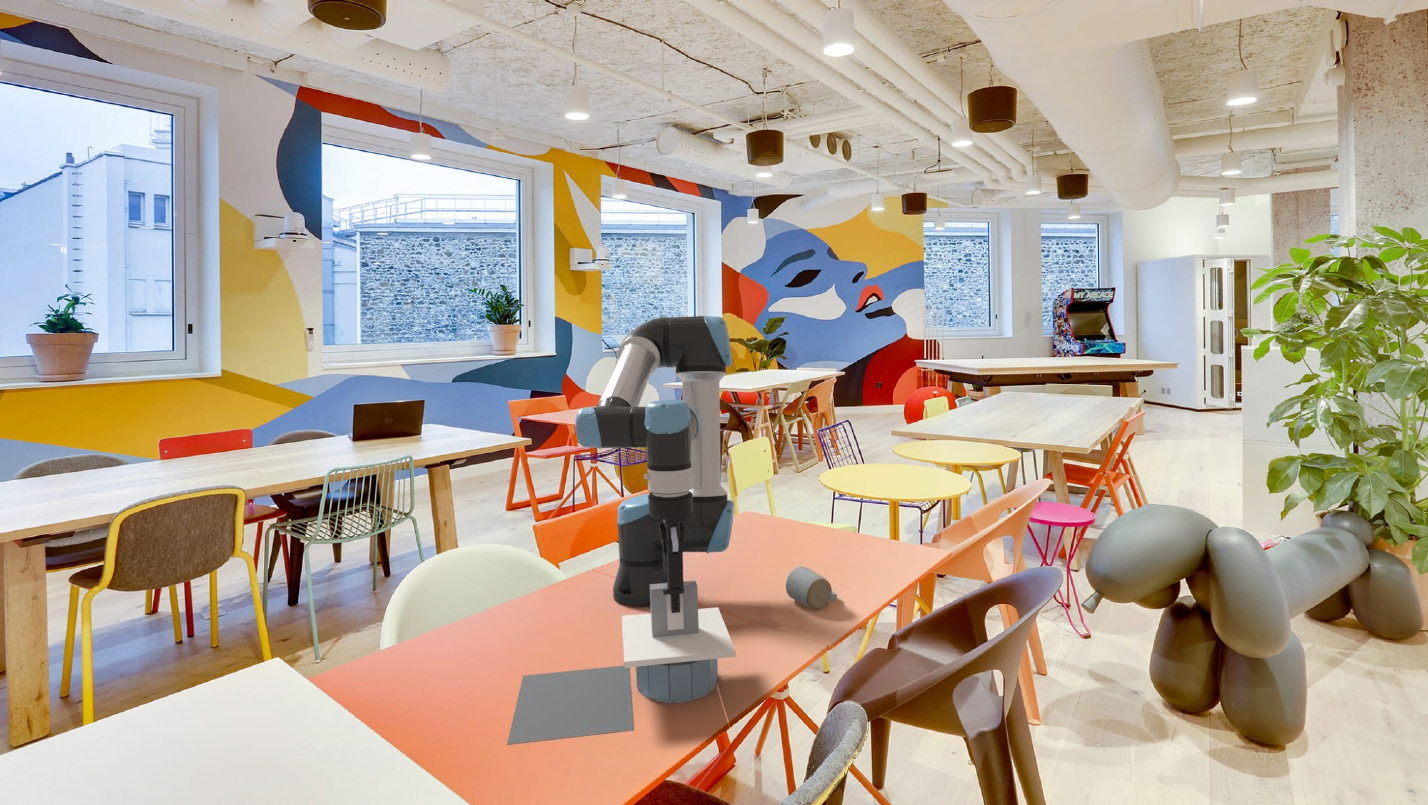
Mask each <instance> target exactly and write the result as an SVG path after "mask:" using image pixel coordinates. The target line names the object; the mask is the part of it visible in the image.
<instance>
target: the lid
mask: <svg viewBox="0 0 1428 805" xmlns="http://www.w3.org/2000/svg"><path fill="white" fill-rule="evenodd" d="M683 588H684V593H683V619H684V629H676V630H668V624H667V596H666V595H663V590H667V583H661V584H650V605H651V606H650V613H640V614H639V613H638V614H627V615H626V614H625V615H621V630H622V632H621V633H622V647H623V666H624V668H628V667H630V668H634V667H635V668H636V667H638V666H648V665H658V664H668V663H678V662H688V661H698V660H708V659H717V660H718V659H727V658H734V657H735V658H736V657H737V656H736V649H735V646H734V644H733V641H732V638H731V636H730V634H729V631H728V629H727V625H726V623H725V621H724V619H723V616H722V614H721V612H720V608H719V607H706V608H699V596H698V595H699V594H698V584H697V581H696V580H687V581H683Z"/></svg>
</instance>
